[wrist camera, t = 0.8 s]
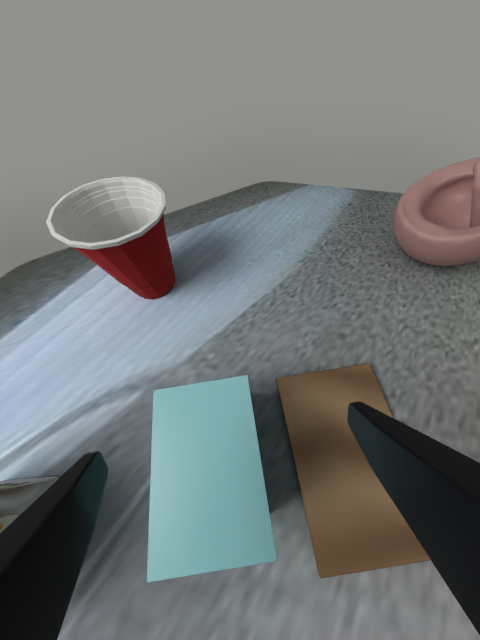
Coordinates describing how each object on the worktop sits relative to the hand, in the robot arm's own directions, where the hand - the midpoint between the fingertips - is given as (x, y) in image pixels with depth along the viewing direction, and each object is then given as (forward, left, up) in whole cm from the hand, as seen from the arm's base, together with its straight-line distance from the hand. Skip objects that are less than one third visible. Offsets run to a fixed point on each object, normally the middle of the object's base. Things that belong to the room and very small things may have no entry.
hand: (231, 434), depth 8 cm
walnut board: (-3, -9, -16) cm, 18 cm away
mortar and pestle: (+19, -27, -16) cm, 37 cm away
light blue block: (-1, +3, -16) cm, 16 cm away
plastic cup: (+21, +10, -16) cm, 28 cm away
